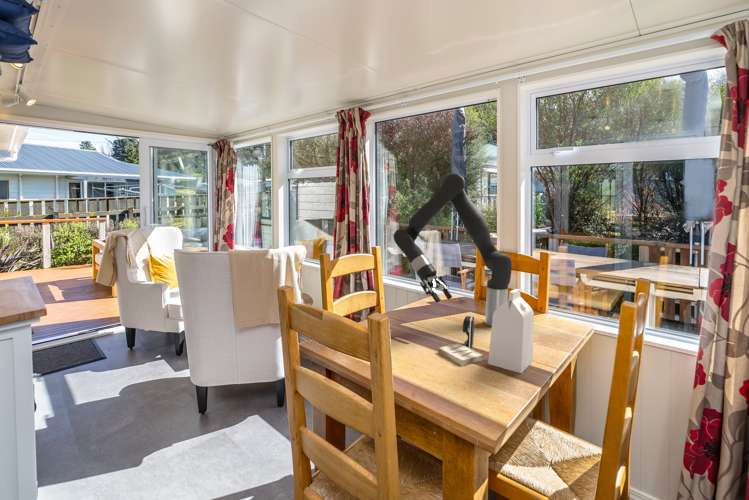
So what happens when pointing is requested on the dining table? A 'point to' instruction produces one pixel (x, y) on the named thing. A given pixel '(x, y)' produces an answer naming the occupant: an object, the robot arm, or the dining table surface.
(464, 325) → the dark upright piece
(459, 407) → the dining table surface
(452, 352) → the board
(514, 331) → the milk
